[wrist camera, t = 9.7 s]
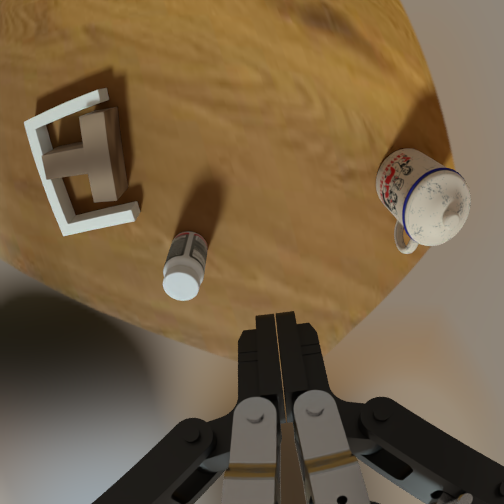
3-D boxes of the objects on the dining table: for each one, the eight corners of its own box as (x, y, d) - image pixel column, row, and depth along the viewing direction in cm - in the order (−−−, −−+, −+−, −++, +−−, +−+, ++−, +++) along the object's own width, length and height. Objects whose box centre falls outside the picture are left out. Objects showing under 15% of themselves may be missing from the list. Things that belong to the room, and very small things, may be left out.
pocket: (34, 117, 29) (23, 122, 27) (106, 87, 28) (97, 89, 26) (71, 227, 38) (63, 236, 36) (140, 211, 37) (134, 221, 35)
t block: (53, 120, 30) (36, 127, 26) (117, 106, 30) (103, 111, 27) (67, 193, 35) (53, 206, 32) (128, 187, 35) (117, 200, 32)
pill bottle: (170, 258, 41) (157, 299, 34) (173, 227, 39) (159, 266, 31) (205, 264, 42) (199, 306, 35) (210, 233, 39) (204, 273, 32)
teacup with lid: (385, 136, 33) (438, 168, 23) (441, 157, 34) (496, 193, 24) (356, 223, 39) (390, 278, 29) (410, 235, 40) (451, 286, 31)
